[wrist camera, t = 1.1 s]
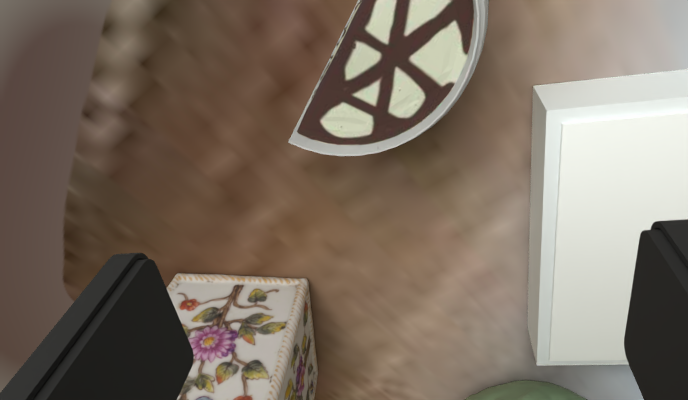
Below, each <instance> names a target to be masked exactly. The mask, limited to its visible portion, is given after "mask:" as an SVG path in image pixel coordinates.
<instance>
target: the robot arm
mask: <svg viewBox="0 0 688 400" xmlns="http://www.w3.org/2000/svg"><path fill="white" fill-rule="evenodd" d="M624 349H625V354H626V358H627V361H628V363H629V366H630V368H631V370H632V373H633V375H634V377H635V379H636V382H637V384H638V386H639V389H640V391H641V393H642V396H643V398H644V400H688V219H684V220H668V221H656V222H654V223H653V224H652V226H651V229H650V230H644V231H642V232H641V234H640V238H639V245H638V251H637V258H636V264H635V271H634V277H633V284H632V291H631V297H630V304H629V310H628V317H627V323H626V330H625V336H624ZM193 360H194V354H193V349H192V347H191V344H190V342H189V340H188V337H187V335H186V333H185V330H184V328H183V326H182V324H181V321H180V319H179V317H178V314H177V312H176V310H175V307H174V305H173V303H172V300H171V298H170V296H169V293H168V291H167V289H166V286H165V284H164V282H163V280H162V277H161V275H160V273H159V270H158V268H157V266H156V264H155V262H154V261H153V260H151V259H148V257H147V256H146V255H145V254H143V253H129V254H116V255H113V256H112V257H111V258H110V259H109V260H108V261H107V262H106V264H105V265H104V266H103V267H102V269H101V270H100V271H99V272H98V274H97V275H96V276H95V277H94V278H93V280H92V281H91V282H90V283H89V285H88V286H87V287H86V288H85V289H84V291H83V292H82V293H81V294H80V296H79V297H78V298H77V299H76V301H75V302H74V303H73V304H72V306H71V307H70V308H69V309H68V311H67V312H66V313H65V314H64V315H63V317H62V318H61V319H60V321H59V322H58V323H57V324H56V325H55V326H54V328H53V329H52V330H51V332H50V333H49V334H48V335H47V336H46V337H45V339H44V340H43V341H42V343H41V344H40V345H39V346H38V347H37V349H36V350H35V351H34V352H33V354H32V355H31V356H30V357H29V358H28V360H27V361H26V362H25V363H24V365H23V366H22V367H21V368H20V369H19V371H18V372H17V373H16V374H15V376H14V377H13V378H12V379H11V381H10V382H9V383H8V384H7V385H6V387H5V388H4V389H3V390H2V392H1V393H0V400H177V398H178V396H179V394H180V392H181V390H182V387H183V385H184V383H185V381H186V379H187V377H188V375H189V372H190V370H191V368H192V365H193Z"/></svg>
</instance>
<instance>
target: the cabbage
mask: <svg viewBox="0 0 688 400" xmlns="http://www.w3.org/2000/svg"><path fill="white" fill-rule="evenodd" d="M465 400H587V399H585V398H584V397H581V396H579V395H577V394H576V393H574V392H572V391H570V390H568V389H566V388H563V387H561V386H558V385H555V384H552V383H548V382H541V381H529V380H522V381H513V382H509V383H505V384H502V385H499V386H493V387H489V388H487V389H485V390H483V391H481V392H479V393H477V394H473V395H471V396H469V397H468V398H466V399H465Z"/></svg>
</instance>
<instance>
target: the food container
mask: <svg viewBox="0 0 688 400" xmlns="http://www.w3.org/2000/svg"><path fill="white" fill-rule="evenodd" d="M488 4H489V2H488V0H358V2H357V4H356V6H355V8H354V10H353V12H352V14H351V16H350V18H349V20H348V22H347V24H346V26H345V28H344V30H343V33H342V35H341V37H340V39H339V41H338V43H337V45H336V47H335V49H334V51H333V53H332V55H331V57H330V59H329V61H328V63H327V65H326V67H325V69H324V71H323V73H322V75H321V77H320V79H319V81H318V83H317V85H316V87H315V89H314V91H313V93H312V95H311V97H310V99H309V101H308V103H307V105H306V107H305V109H304V111H303V113H302V115H301V117H300V119H299V121H298V123H297V125H296V127H295V130H294V132H293V134H292V136H291V138H290V140H289V142H288V143H291V144H293V145H296V146H298V147H300V148H303V149H306V150H310V151H313V152H317V153H321V154H328V155H336V156H361V155H367V154H373V153H378V152H382V151H385V150H388V149H391V148H394V147H397V146H400V145H402V144H404V143H406V142H408V141H410V140H412V139H414V138H416V137H418V136H419V135H421V134H422V133H424V132H425V131H426V130H428V129H429V128H431V127H432V126H434V125H435V124H436V123H437V122H438V121H439V120H440V119H441V118H442V117H443V116H444V115H445V114H446V113H447V112H448V111H449V110H450V109H451V107H452V106H453V105H454V104H455V102H456V101H457V100H458V99H459V97H460V96H461V94H462V93H463V91H464V89H465V87H466V86H467V84H468V82H469V80H470V79H471V77H472V75H473V72H474V70H475V68H476V65H477V62H478V60H479V57H480V54H481V52H482V49H483V45H484V40H485V35H486V30H487V25H488Z"/></svg>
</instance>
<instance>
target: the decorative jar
mask: <svg viewBox="0 0 688 400" xmlns="http://www.w3.org/2000/svg"><path fill="white" fill-rule="evenodd" d="M167 291H168V293H169V296H170V298H171V300H172V303H173V305H174V307H175V310H176V312H177V314H178V317H179V319H180V321H181V324H182V326H183V328H184V330H185V333H186V335H187V337H188V340H189V342H190V344H191V347H192V349H193V354H194V360H193V365H192V368H191V370H190V372H189V375H188V377H187V379H186V381H185V383H184V385H183V387H182V390H181V392H180V394H179V396H178V398H177V400H314V397H315V391H316V384H317V377H318V367H317V358H316V348H315V339H314V328H313V319H312V311H311V303H310V292H309V283H308V280H307V279H306V278H279V277H259V276H237V275H223V274H188V273H178V274H176V275H175V277H174V278H173V280H172V281H171V283H170V284H169V286H168V287H167Z"/></svg>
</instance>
